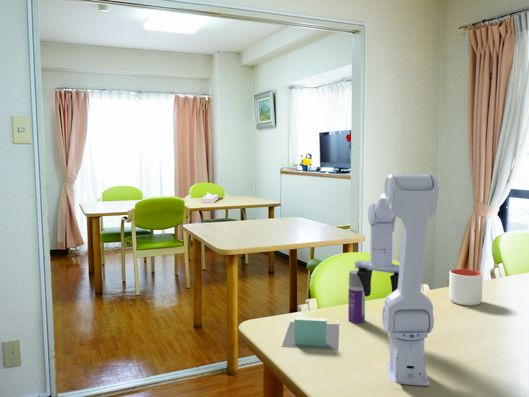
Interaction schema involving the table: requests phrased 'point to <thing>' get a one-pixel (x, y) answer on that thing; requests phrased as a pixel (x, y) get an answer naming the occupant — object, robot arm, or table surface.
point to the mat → (331, 345)
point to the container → (356, 299)
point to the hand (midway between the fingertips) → (380, 298)
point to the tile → (310, 331)
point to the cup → (465, 287)
